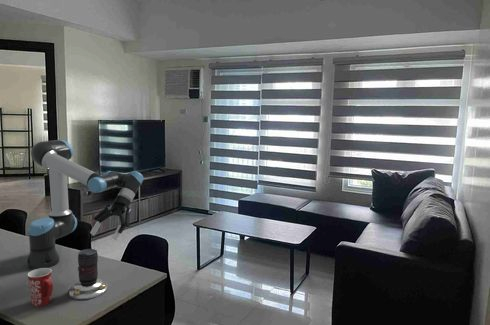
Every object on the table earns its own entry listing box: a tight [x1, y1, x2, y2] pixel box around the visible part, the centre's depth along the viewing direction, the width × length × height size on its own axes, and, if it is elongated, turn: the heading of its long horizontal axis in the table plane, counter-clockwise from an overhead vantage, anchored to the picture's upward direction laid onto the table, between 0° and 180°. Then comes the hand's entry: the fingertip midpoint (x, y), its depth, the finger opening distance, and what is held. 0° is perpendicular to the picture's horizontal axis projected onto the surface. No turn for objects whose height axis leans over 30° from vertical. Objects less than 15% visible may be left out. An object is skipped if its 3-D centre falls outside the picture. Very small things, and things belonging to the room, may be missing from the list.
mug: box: [27, 267, 54, 307], centre depth 151 cm, size 13×9×14 cm
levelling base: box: [68, 277, 108, 301], centre depth 163 cm, size 16×16×4 cm
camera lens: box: [77, 248, 99, 286], centre depth 162 cm, size 8×8×15 cm
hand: (103, 236), depth 169 cm, fingers open, 13 cm apart
